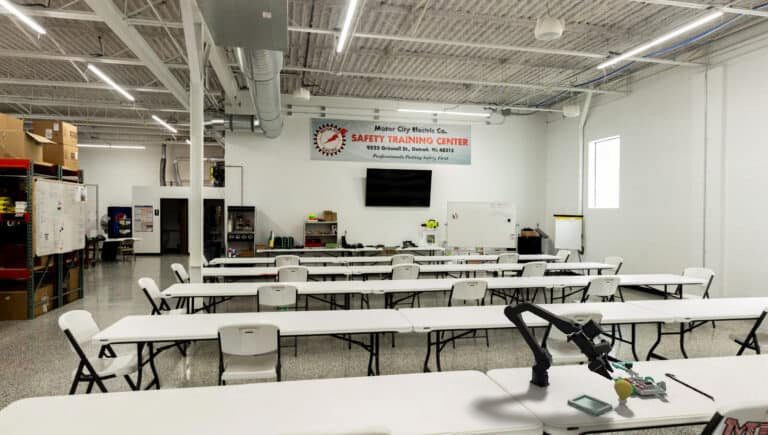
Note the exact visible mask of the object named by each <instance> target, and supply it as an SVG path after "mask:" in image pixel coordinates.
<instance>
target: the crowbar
mask: <svg viewBox="0 0 768 435" xmlns="http://www.w3.org/2000/svg"><path fill="white" fill-rule="evenodd" d="M664 375H665V376H666V377H667V376H668V377H667V378H669V377H670V379H671V380H673V381H675V382H678V383H679V384H682V385H683V386H686V387H687V388H689V389H692V390H693V391H695V392H697V393H699V394H701V395H702V396H705V397H707V398H709V399H710V400H712V401H713V400H715V398H714V397H713V396H712V395H710V394H708V393H705V392H704V391H702V390H700V389H698V388H696V387H695V386H694V387H693V386H691V385H690V384H688V383H686V382H683V381H682V380H679V379H678V378H676V375H674V374H672V373H668V372H666V373H664ZM670 375H672V376H670ZM674 376H675V377H674Z"/></svg>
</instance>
